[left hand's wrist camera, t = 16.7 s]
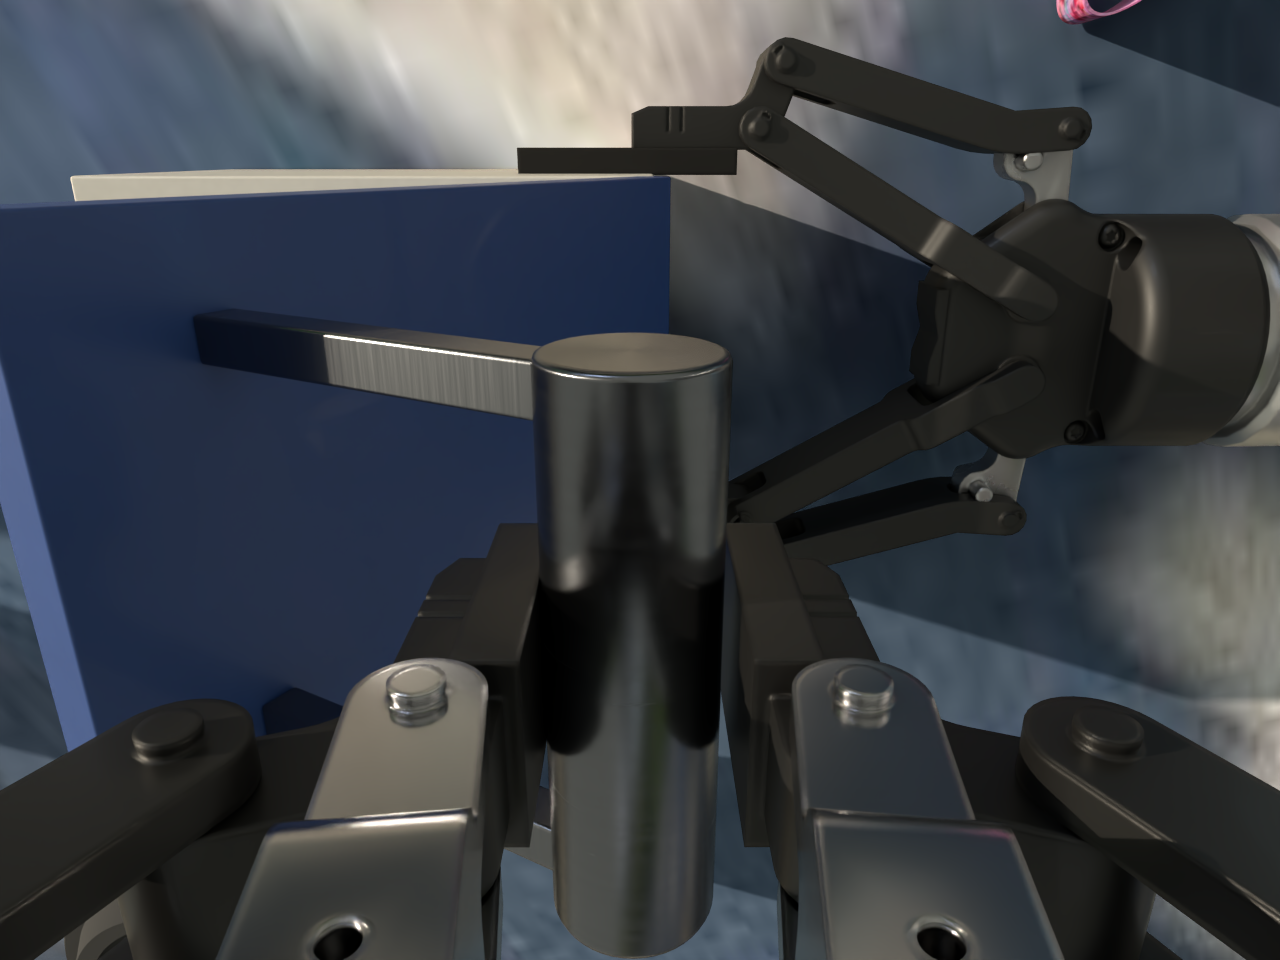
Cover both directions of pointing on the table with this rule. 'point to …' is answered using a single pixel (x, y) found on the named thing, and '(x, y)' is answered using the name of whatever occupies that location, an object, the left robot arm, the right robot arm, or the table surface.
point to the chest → (290, 181)
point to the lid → (384, 480)
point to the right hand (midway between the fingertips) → (531, 332)
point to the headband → (1087, 10)
